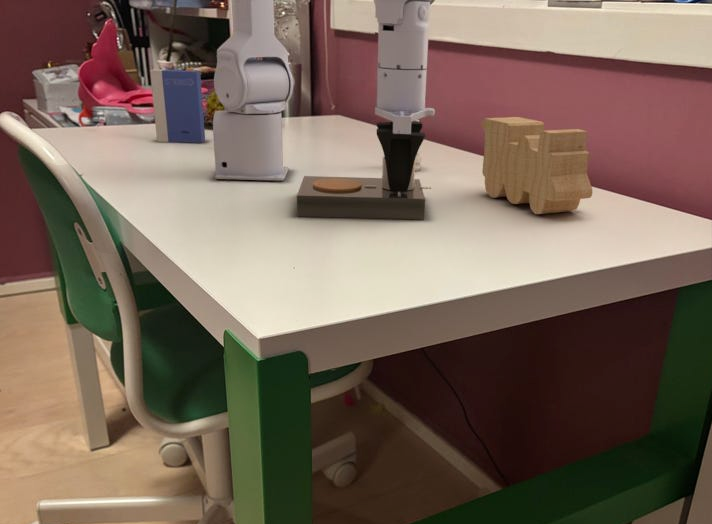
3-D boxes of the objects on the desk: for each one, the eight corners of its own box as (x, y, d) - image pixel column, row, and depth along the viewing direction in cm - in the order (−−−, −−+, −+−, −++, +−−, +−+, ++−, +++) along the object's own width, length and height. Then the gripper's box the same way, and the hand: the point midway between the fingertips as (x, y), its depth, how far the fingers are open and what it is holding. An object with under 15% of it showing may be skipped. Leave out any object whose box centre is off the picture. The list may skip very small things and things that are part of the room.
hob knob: (415, 191, 90) (416, 159, 88) (382, 190, 90) (382, 158, 88) (413, 184, 93) (414, 153, 92) (381, 183, 93) (382, 152, 92)
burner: (311, 190, 88) (311, 188, 88) (314, 180, 94) (314, 177, 94) (361, 192, 89) (361, 189, 88) (361, 181, 94) (361, 179, 94)
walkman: (205, 140, 132) (200, 68, 127) (201, 143, 129) (196, 69, 124) (160, 139, 132) (153, 66, 126) (156, 141, 129) (149, 68, 124)
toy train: (553, 221, 89) (563, 135, 85) (476, 191, 103) (482, 116, 98) (588, 217, 91) (601, 134, 87) (509, 188, 105) (516, 115, 101)
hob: (297, 216, 87) (296, 193, 86) (304, 195, 97) (303, 174, 96) (433, 220, 88) (434, 197, 87) (426, 198, 98) (427, 178, 97)
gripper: (441, 74, 79) (434, 200, 85) (432, 64, 92) (426, 174, 98) (375, 72, 79) (372, 198, 85) (376, 62, 92) (373, 173, 98)
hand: (398, 186), depth 91 cm, fingers open, 5 cm apart
